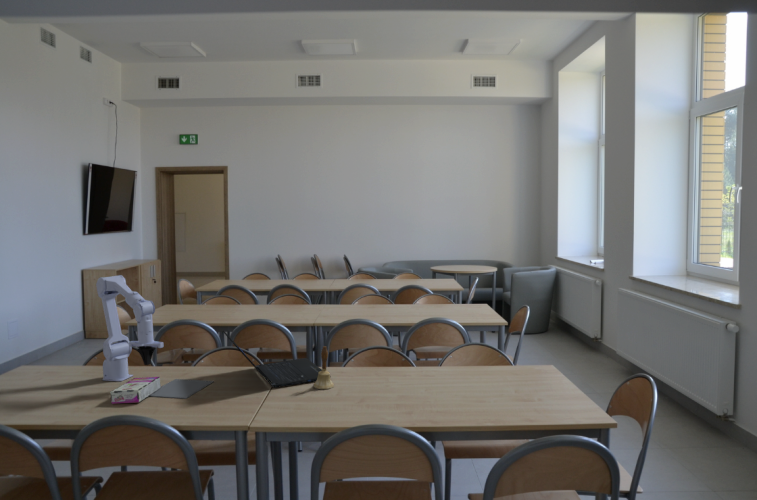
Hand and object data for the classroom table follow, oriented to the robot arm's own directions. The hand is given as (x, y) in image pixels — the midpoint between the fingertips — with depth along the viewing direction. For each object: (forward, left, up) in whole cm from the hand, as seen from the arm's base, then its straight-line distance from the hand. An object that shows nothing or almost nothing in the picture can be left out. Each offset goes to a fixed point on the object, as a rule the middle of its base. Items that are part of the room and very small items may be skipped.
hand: (147, 364), depth 217 cm
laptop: (+46, +21, -10) cm, 52 cm away
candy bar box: (+2, -3, -7) cm, 7 cm away
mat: (+15, 0, -9) cm, 17 cm away
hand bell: (+71, +12, -9) cm, 72 cm away
